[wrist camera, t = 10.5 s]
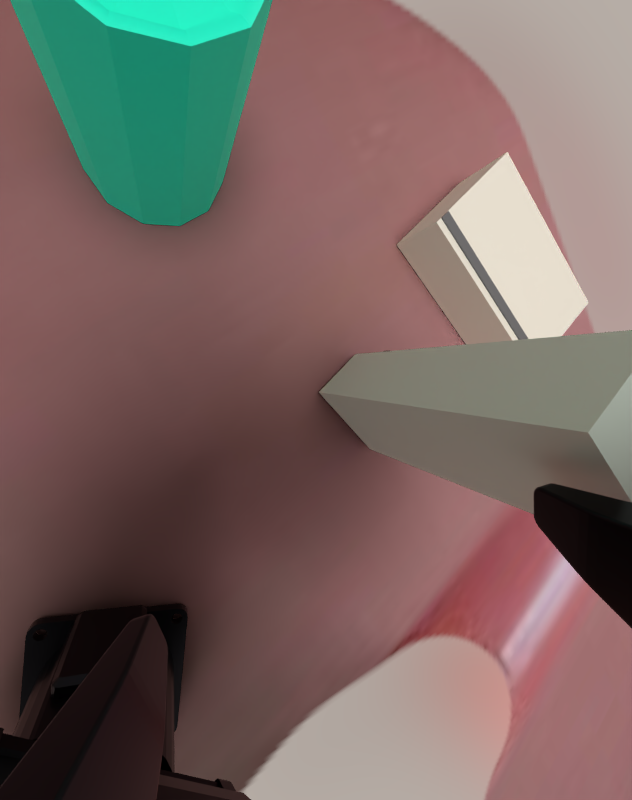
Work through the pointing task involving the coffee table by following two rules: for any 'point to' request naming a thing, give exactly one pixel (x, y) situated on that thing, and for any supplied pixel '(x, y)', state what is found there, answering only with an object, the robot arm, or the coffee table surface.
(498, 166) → the block
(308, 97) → the coffee table surface
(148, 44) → the candle
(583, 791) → the coffee table surface
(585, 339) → the pale green upright box
